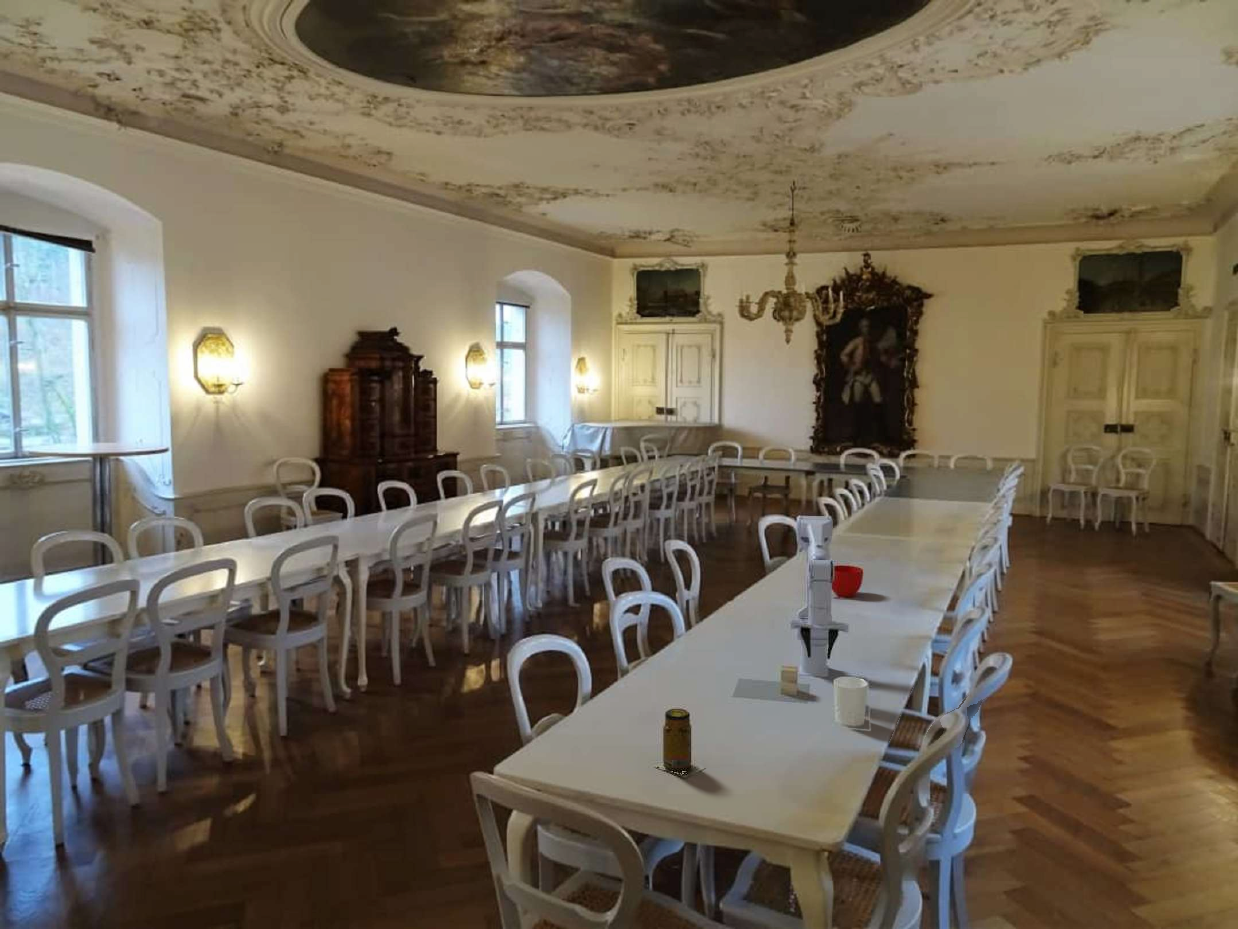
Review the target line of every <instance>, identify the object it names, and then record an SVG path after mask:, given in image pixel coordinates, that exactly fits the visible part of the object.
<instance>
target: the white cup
mask: <svg viewBox="0 0 1238 929" xmlns="http://www.w3.org/2000/svg"><path fill="white" fill-rule="evenodd" d="M868 685H869V683H868V682H867V681H866V680H865V679H863V678H860V677H857V676H856V677H855V676H839V677H836V678H834V680H833V698H834V699H833V701H834V702H833V703H834V714H835V715H834V716H835V717H834V719H835V722H836V723H838V724H840V725H842V726H846V727H861V726H862V725H864V724H865V718H866V710H867V709H866V708H867V702H868V701H867V698H868Z"/></svg>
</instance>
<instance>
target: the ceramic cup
mask: <svg viewBox="0 0 1238 929" xmlns="http://www.w3.org/2000/svg"><path fill="white" fill-rule="evenodd" d="M863 578H864V569H863V568H861V567H859V566H854V565H841V564H839V565H838V564H837V565H834V580H833V582H832V580H831V579H830V581H831V583H832V592H834V594H835V595H836V596H837V597H842V598H851V597H854V596H855V595H856V594H857V593H858V591H859V590H860V589H861V586H862V584H863Z"/></svg>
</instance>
